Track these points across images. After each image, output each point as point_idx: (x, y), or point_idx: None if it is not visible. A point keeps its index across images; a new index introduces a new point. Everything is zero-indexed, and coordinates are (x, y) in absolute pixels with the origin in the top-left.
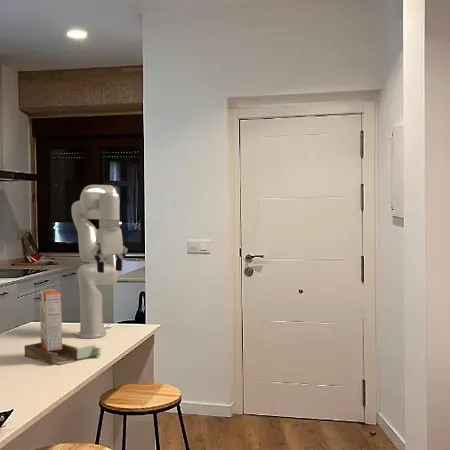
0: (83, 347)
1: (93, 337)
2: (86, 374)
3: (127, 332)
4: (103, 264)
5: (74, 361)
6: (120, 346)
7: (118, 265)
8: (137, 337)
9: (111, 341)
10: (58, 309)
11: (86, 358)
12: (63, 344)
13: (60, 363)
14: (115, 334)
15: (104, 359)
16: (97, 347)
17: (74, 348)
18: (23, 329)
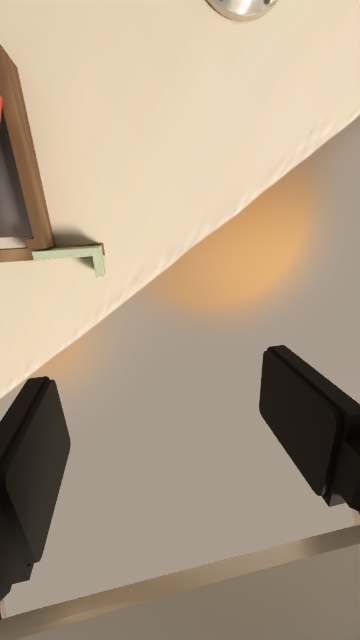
0: (55, 257)
1: (218, 10)
2: (16, 372)
3: (345, 34)
4: (38, 535)
5: (32, 259)
6: (208, 202)
7: (287, 425)
8: (309, 138)
9: (230, 119)
10: None
11: None
12: (19, 157)
13: None
14: (303, 24)
15: (105, 292)
16: (98, 267)
17: (31, 239)
18: None
